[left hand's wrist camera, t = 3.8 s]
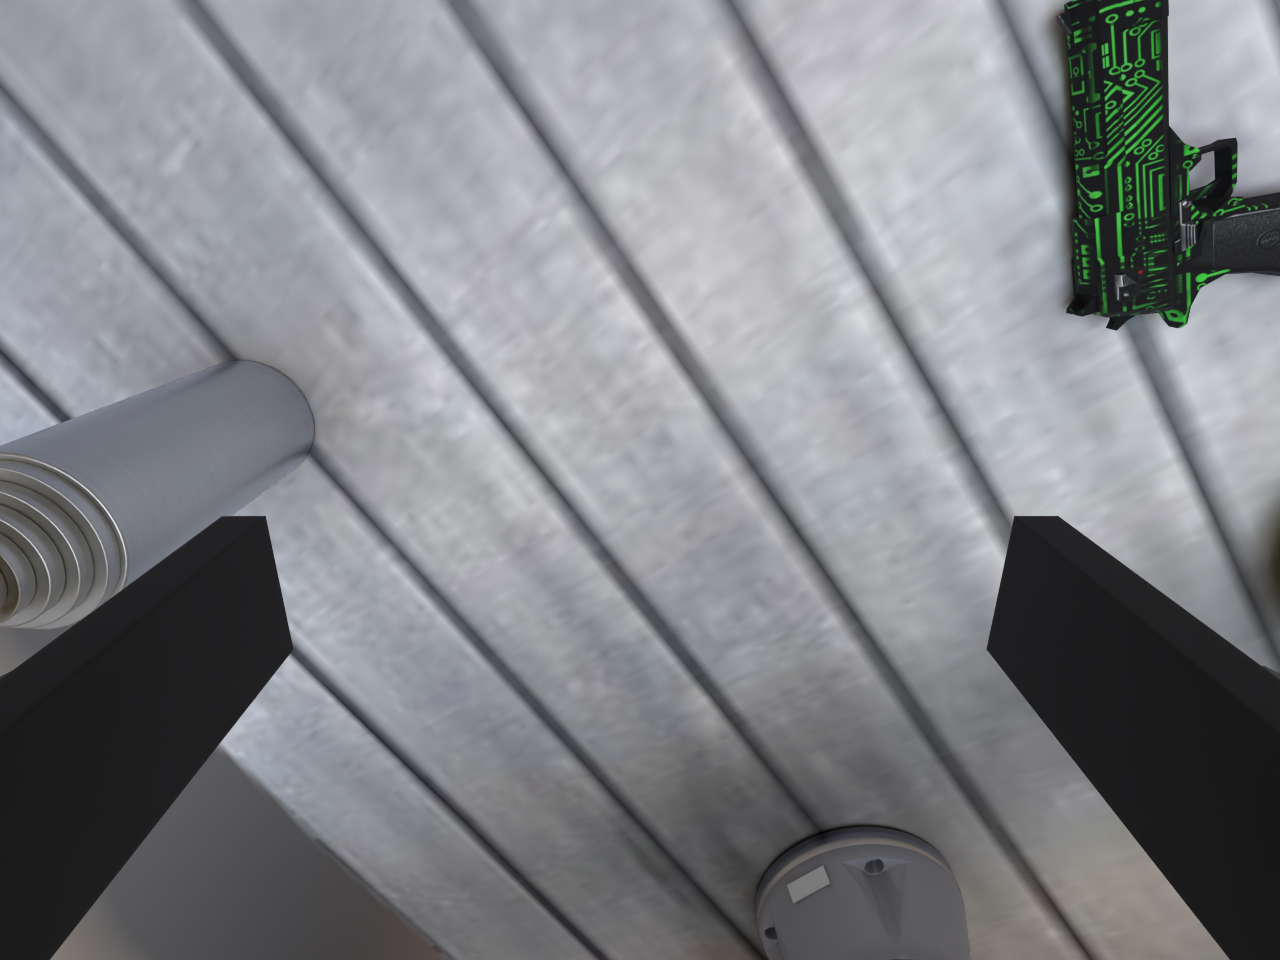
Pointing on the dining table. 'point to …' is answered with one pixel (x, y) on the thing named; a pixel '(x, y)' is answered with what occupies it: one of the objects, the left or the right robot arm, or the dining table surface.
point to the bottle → (137, 485)
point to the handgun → (1148, 177)
